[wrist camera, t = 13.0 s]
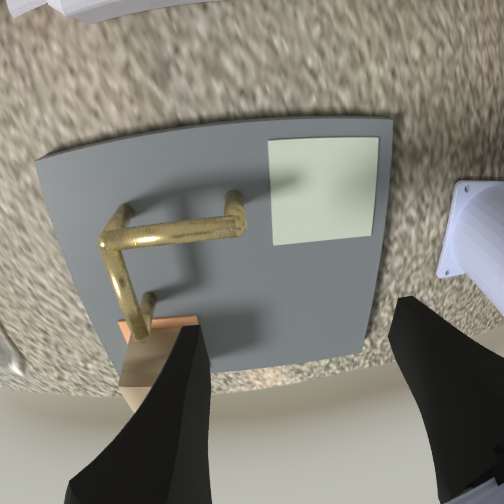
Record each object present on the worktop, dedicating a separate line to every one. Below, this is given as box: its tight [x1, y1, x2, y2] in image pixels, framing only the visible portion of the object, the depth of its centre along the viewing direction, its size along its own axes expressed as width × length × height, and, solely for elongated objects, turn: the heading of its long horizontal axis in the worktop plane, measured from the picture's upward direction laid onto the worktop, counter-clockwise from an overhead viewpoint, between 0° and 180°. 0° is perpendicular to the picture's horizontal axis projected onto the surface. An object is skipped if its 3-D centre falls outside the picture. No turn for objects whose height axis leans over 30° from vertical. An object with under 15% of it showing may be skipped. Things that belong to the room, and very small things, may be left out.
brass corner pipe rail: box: [98, 190, 247, 343], centre depth 17 cm, size 7×7×4 cm
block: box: [118, 327, 181, 413], centre depth 20 cm, size 4×4×5 cm
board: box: [34, 116, 393, 376], centre depth 20 cm, size 20×18×1 cm
